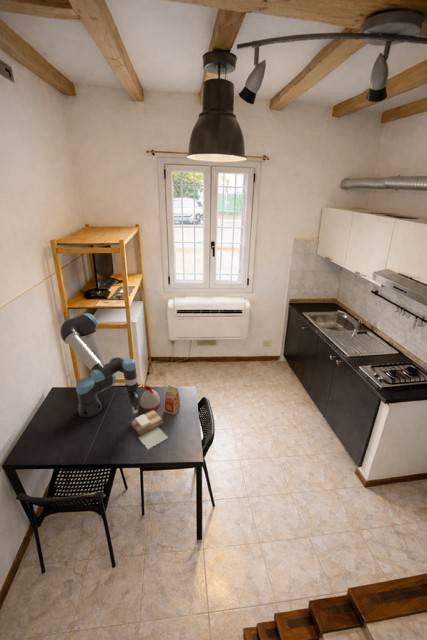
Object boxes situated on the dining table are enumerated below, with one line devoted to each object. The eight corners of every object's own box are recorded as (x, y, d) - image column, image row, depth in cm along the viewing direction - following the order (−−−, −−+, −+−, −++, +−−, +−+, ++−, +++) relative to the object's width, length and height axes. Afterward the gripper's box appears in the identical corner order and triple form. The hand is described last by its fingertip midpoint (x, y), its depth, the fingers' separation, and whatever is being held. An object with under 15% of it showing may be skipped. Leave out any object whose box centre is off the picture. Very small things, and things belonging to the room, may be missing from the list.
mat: (138, 438, 191) (138, 437, 191) (158, 427, 199) (158, 426, 199) (147, 449, 182) (147, 449, 182) (168, 438, 191) (168, 437, 190)
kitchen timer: (151, 395, 229) (149, 378, 223) (164, 402, 222) (163, 384, 215) (136, 405, 219) (134, 387, 213) (150, 413, 211) (148, 395, 205)
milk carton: (163, 411, 213) (161, 387, 204) (170, 403, 220) (168, 379, 212) (175, 415, 209) (174, 390, 201) (182, 406, 217) (180, 382, 209)
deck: (131, 425, 201) (131, 420, 199) (153, 414, 210) (153, 409, 208) (140, 435, 192) (140, 430, 191) (163, 424, 202) (162, 419, 200)
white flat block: (135, 420, 199) (135, 418, 198) (143, 416, 202) (143, 414, 201) (142, 428, 192) (141, 426, 192) (150, 424, 196) (150, 421, 195)
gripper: (121, 380, 197) (125, 409, 206) (130, 389, 188) (134, 420, 197) (132, 375, 201) (135, 405, 211) (141, 384, 192) (145, 415, 202)
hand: (135, 412), depth 204 cm, fingers closed
